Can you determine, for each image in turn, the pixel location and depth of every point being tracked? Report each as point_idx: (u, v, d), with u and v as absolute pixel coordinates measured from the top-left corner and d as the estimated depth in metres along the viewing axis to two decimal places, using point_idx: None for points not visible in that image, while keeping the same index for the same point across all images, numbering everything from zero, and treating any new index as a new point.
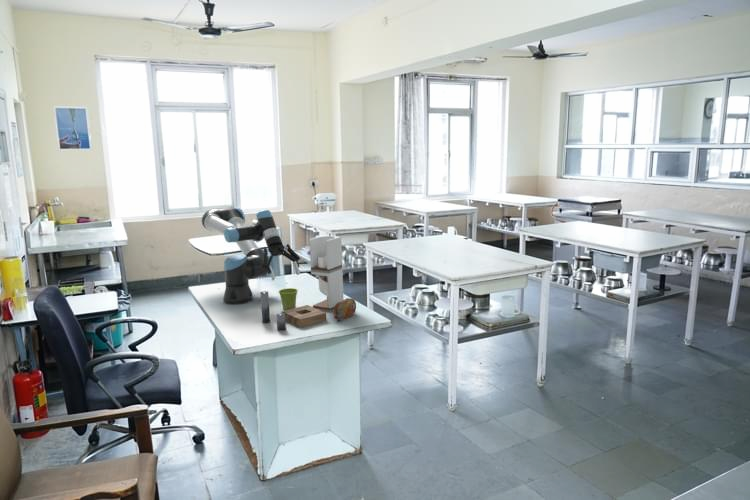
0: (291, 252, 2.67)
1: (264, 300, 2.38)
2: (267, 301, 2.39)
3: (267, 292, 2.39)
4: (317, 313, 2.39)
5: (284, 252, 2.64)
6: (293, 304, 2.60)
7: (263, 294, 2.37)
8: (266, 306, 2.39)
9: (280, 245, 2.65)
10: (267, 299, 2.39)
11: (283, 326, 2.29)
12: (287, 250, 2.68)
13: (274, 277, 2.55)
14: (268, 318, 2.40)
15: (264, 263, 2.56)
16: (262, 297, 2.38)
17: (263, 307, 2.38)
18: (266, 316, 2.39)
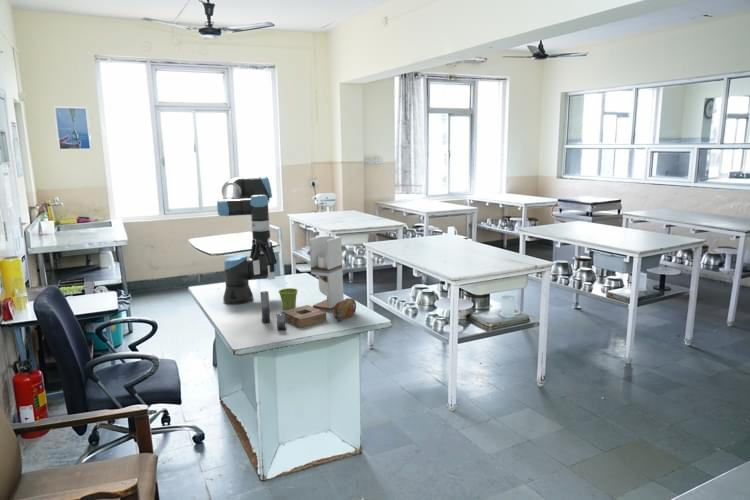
0: None
1: (264, 300, 2.38)
2: (267, 301, 2.39)
3: (267, 292, 2.39)
4: (317, 313, 2.39)
5: (262, 251, 2.33)
6: (293, 304, 2.60)
7: (263, 294, 2.37)
8: (266, 306, 2.39)
9: (262, 241, 2.33)
10: (267, 299, 2.39)
11: (283, 326, 2.29)
12: None
13: (254, 274, 2.42)
14: (268, 318, 2.40)
15: (250, 256, 2.43)
16: (262, 297, 2.38)
17: (263, 307, 2.38)
18: (266, 316, 2.39)
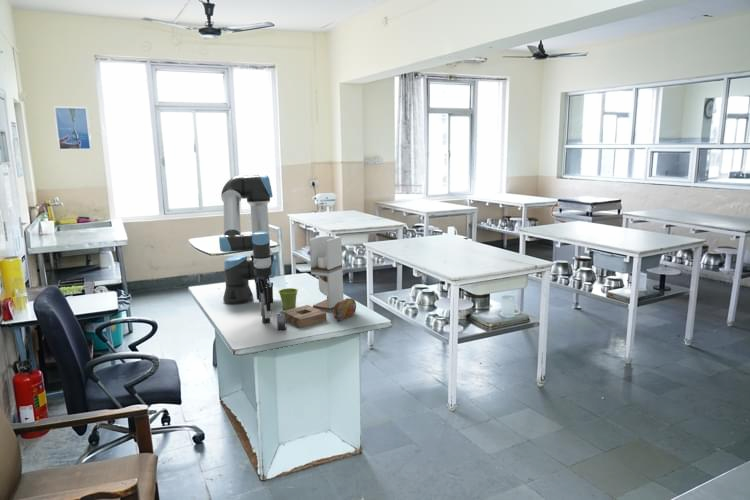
0: None
1: (264, 300, 2.38)
2: None
3: None
4: (317, 313, 2.39)
5: (262, 288, 2.37)
6: (293, 304, 2.60)
7: (263, 294, 2.37)
8: None
9: (264, 278, 2.35)
10: None
11: (283, 326, 2.29)
12: None
13: (261, 315, 2.42)
14: (268, 318, 2.40)
15: (257, 296, 2.42)
16: (262, 297, 2.38)
17: (263, 307, 2.38)
18: None
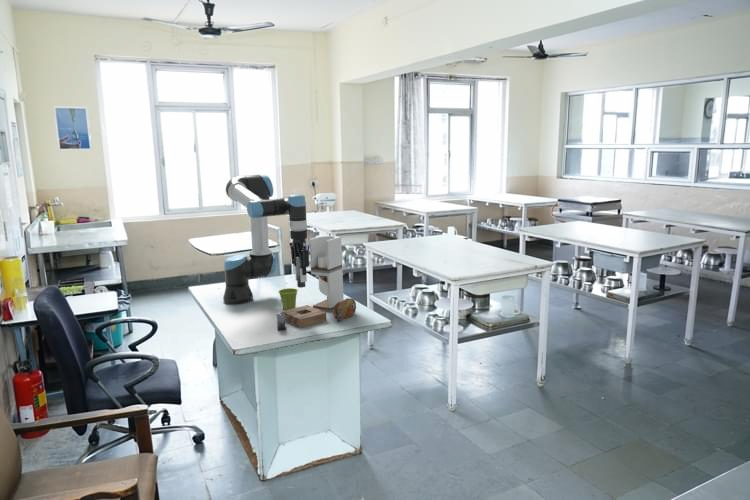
0: None
1: (300, 264, 2.36)
2: None
3: None
4: (317, 313, 2.39)
5: (298, 251, 2.34)
6: (293, 304, 2.60)
7: (299, 258, 2.35)
8: None
9: (300, 240, 2.32)
10: None
11: (283, 326, 2.29)
12: None
13: (296, 279, 2.40)
14: (303, 282, 2.38)
15: (292, 261, 2.40)
16: (298, 261, 2.35)
17: (299, 270, 2.36)
18: None
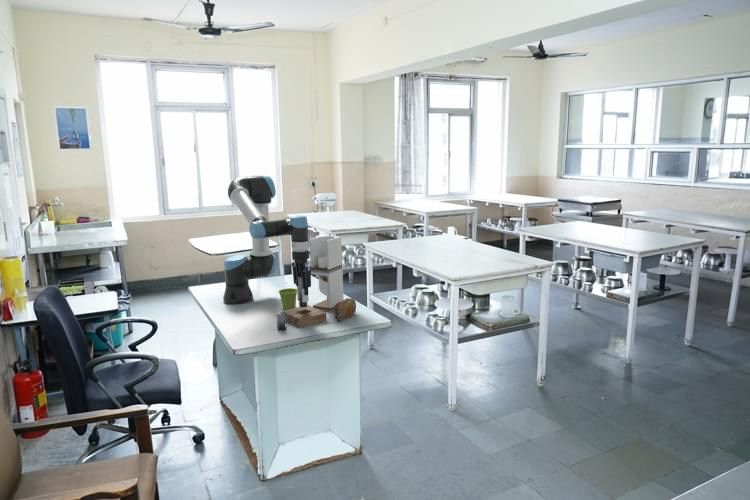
0: None
1: (302, 284, 2.38)
2: None
3: None
4: (317, 313, 2.39)
5: (300, 272, 2.36)
6: (293, 304, 2.60)
7: (301, 278, 2.37)
8: None
9: (302, 261, 2.34)
10: None
11: (283, 326, 2.29)
12: None
13: (298, 299, 2.42)
14: (305, 302, 2.40)
15: (294, 281, 2.42)
16: (300, 281, 2.37)
17: (301, 291, 2.38)
18: None
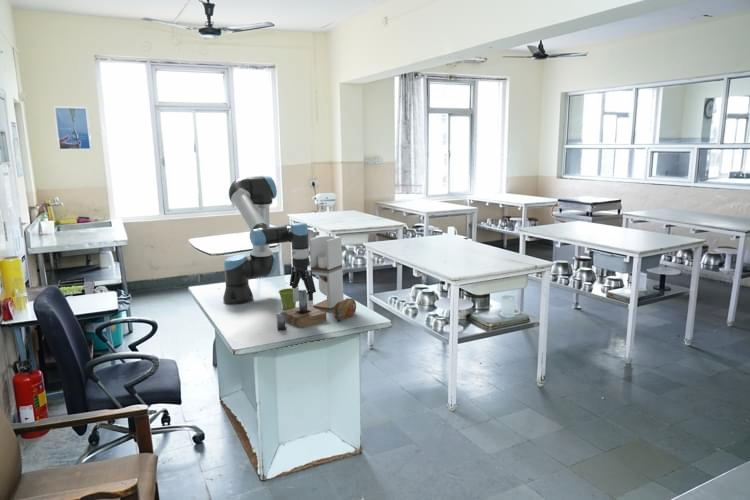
0: (308, 281, 2.34)
1: (302, 298, 2.39)
2: (305, 299, 2.40)
3: (305, 290, 2.40)
4: (317, 313, 2.39)
5: None
6: (293, 304, 2.60)
7: (301, 292, 2.38)
8: (304, 305, 2.40)
9: (302, 269, 2.35)
10: (305, 297, 2.40)
11: (283, 326, 2.29)
12: None
13: (294, 301, 2.45)
14: None
15: (290, 283, 2.45)
16: (300, 295, 2.39)
17: (301, 305, 2.40)
18: None
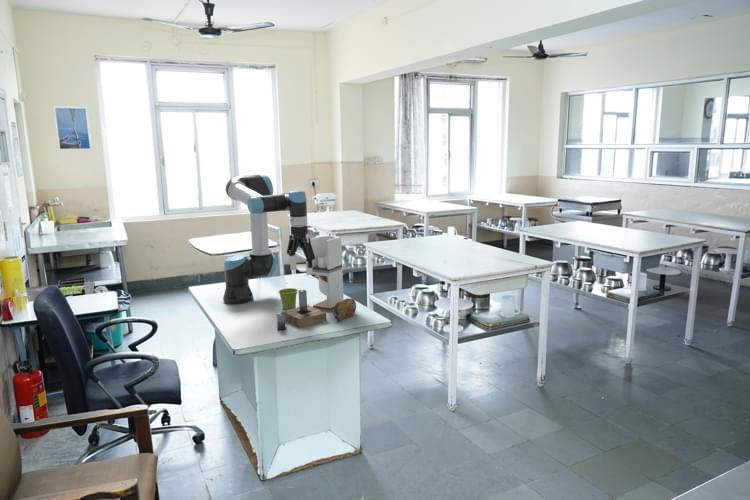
0: None
1: (302, 298, 2.39)
2: (305, 299, 2.40)
3: (305, 290, 2.40)
4: (317, 313, 2.39)
5: (300, 247, 2.33)
6: (293, 304, 2.60)
7: (301, 292, 2.38)
8: (305, 305, 2.40)
9: (300, 237, 2.33)
10: (305, 297, 2.40)
11: (283, 326, 2.29)
12: None
13: (291, 269, 2.43)
14: None
15: (287, 251, 2.43)
16: (300, 295, 2.39)
17: (301, 305, 2.40)
18: None
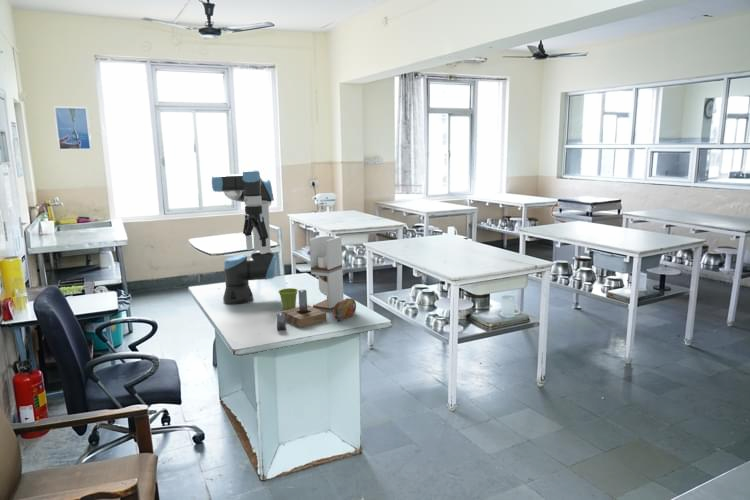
0: None
1: (302, 298, 2.39)
2: (305, 299, 2.40)
3: (305, 290, 2.40)
4: (317, 313, 2.39)
5: None
6: (293, 304, 2.60)
7: (301, 292, 2.38)
8: (304, 305, 2.40)
9: (254, 216, 2.36)
10: (305, 297, 2.40)
11: (283, 326, 2.29)
12: None
13: (247, 249, 2.46)
14: None
15: (243, 231, 2.46)
16: (300, 295, 2.39)
17: (301, 305, 2.40)
18: None
